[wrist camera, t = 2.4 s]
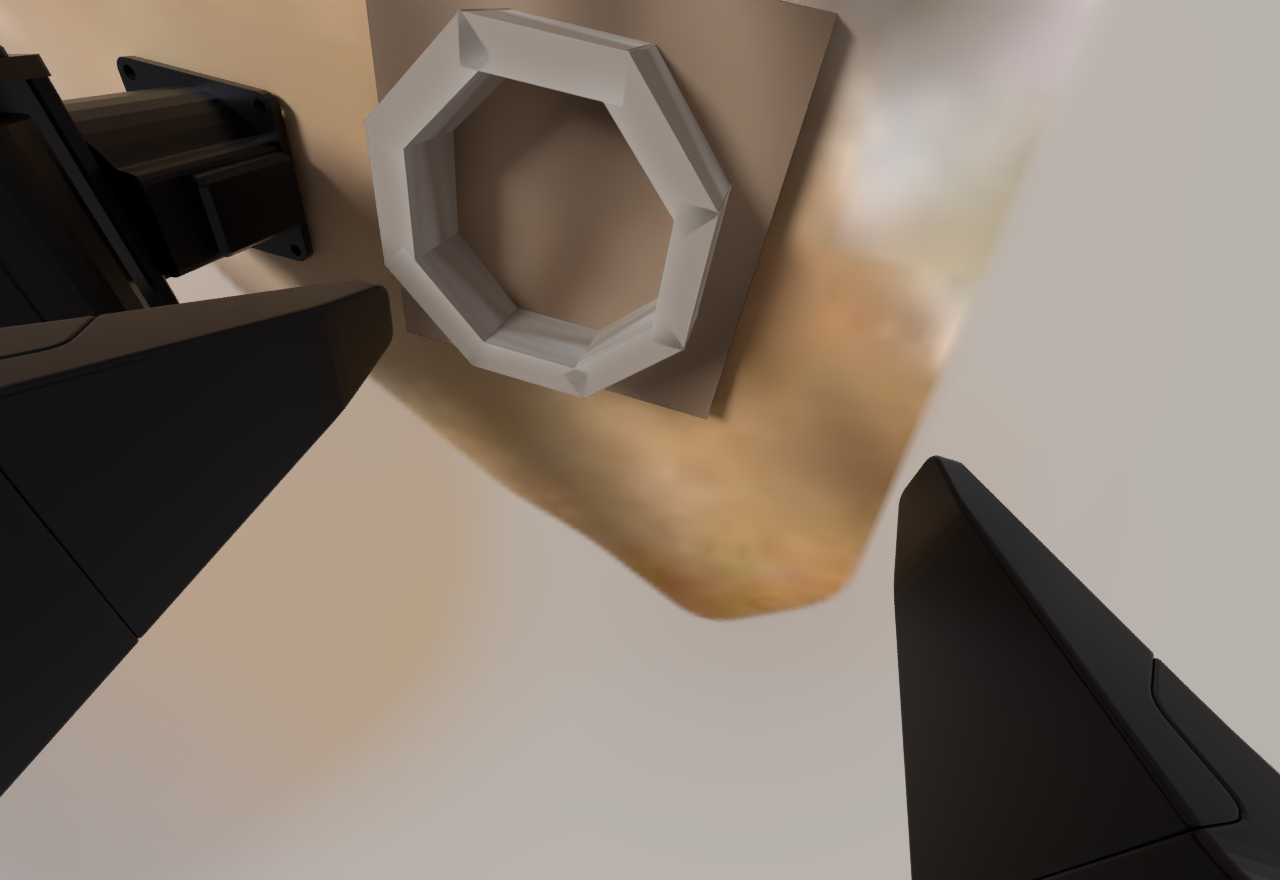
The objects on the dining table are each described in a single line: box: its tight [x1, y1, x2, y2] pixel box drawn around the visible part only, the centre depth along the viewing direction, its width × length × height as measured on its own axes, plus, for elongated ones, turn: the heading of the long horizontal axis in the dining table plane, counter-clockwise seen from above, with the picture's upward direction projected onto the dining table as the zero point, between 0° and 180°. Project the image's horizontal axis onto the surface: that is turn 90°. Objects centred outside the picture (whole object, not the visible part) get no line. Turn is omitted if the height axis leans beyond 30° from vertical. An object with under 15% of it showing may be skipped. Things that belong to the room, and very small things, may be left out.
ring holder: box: [364, 0, 837, 419], centre depth 19 cm, size 14×14×4 cm
